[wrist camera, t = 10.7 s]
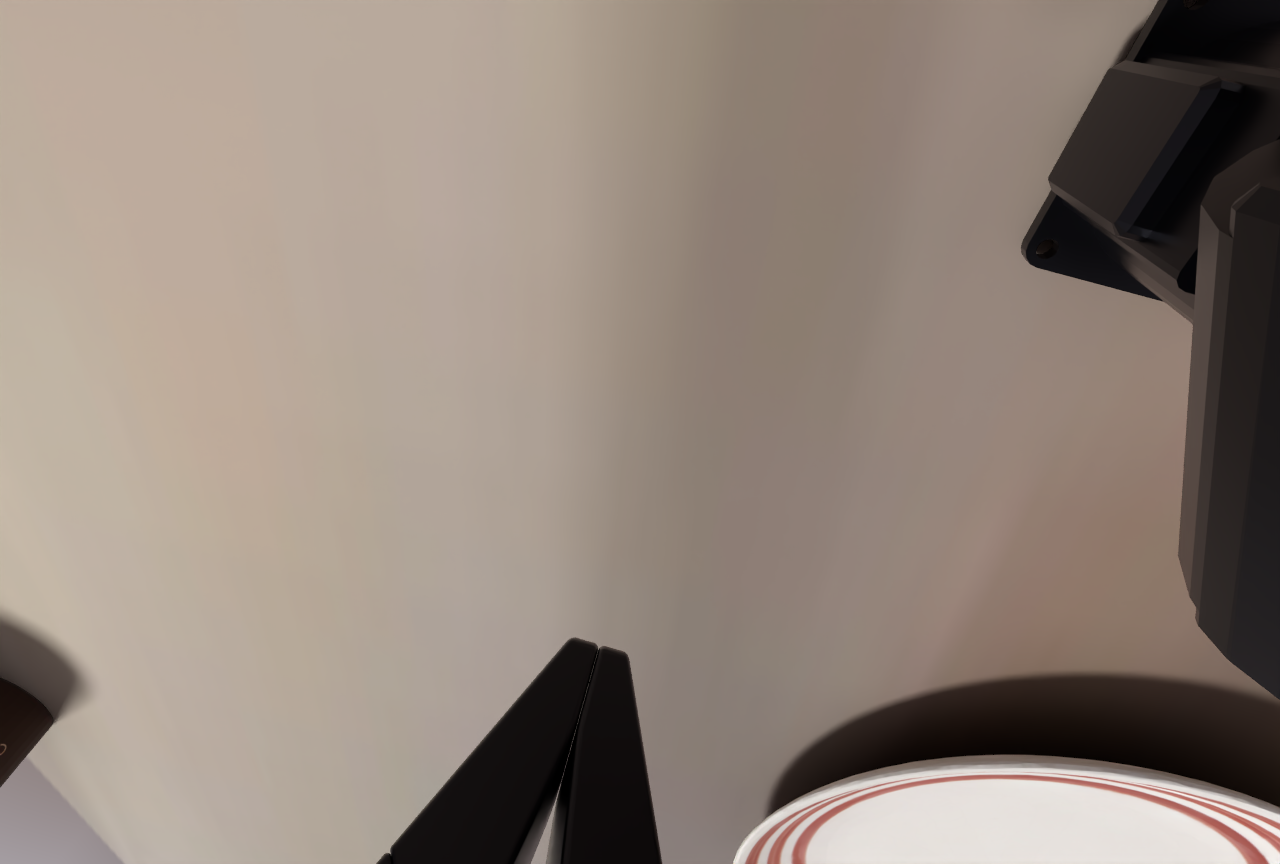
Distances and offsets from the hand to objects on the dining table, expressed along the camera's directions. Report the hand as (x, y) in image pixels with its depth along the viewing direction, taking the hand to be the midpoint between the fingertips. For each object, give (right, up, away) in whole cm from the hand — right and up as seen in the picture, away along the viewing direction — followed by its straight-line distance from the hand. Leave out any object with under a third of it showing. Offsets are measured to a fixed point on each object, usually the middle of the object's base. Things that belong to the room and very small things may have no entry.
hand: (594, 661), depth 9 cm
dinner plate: (+19, -19, +25) cm, 37 cm away
